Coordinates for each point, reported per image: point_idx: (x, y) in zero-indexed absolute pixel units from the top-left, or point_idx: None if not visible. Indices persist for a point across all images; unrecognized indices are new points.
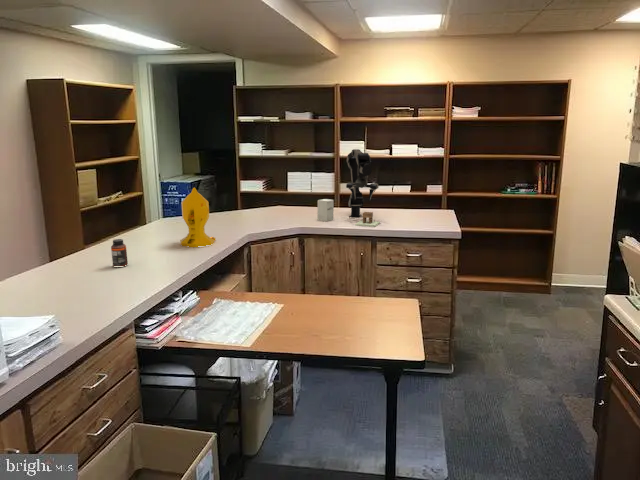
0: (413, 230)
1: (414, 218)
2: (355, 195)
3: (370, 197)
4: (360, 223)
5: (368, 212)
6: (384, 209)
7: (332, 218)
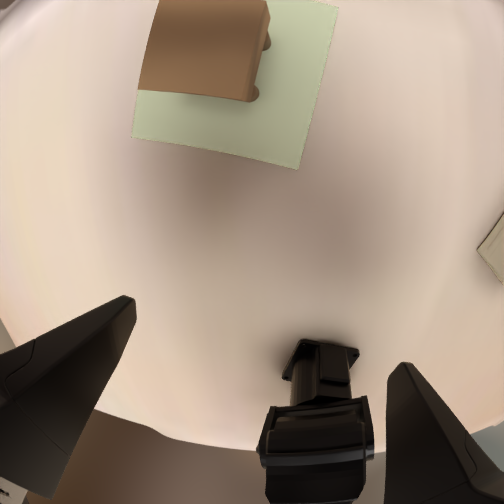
0: (15, 19)
1: (38, 294)
2: (387, 442)
3: (78, 321)
4: (292, 24)
5: (188, 59)
6: (191, 439)
7: (488, 246)
